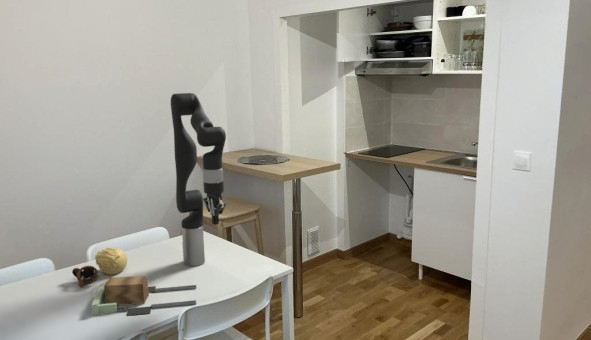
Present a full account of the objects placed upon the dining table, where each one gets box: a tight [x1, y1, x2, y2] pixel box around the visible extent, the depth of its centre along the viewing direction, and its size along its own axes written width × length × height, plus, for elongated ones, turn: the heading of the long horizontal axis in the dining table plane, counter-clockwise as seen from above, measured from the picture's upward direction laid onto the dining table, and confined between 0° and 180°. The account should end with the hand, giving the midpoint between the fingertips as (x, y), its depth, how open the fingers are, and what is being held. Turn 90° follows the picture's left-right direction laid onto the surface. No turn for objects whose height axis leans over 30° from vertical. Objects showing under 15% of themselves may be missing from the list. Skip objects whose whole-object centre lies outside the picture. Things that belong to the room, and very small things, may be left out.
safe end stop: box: [91, 284, 118, 316], centre depth 180 cm, size 8×16×4 cm, turn 11°
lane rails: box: [116, 284, 197, 313], centre depth 183 cm, size 28×14×1 cm, turn 101°
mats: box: [126, 285, 157, 317], centre depth 182 cm, size 8×22×1 cm, turn 11°
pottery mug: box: [71, 265, 100, 288], centre depth 197 cm, size 12×10×8 cm
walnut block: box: [103, 275, 150, 306], centre depth 182 cm, size 14×7×8 cm, turn 94°
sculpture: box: [94, 247, 128, 276], centre depth 207 cm, size 12×12×11 cm
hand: (215, 223), depth 185 cm, fingers closed
